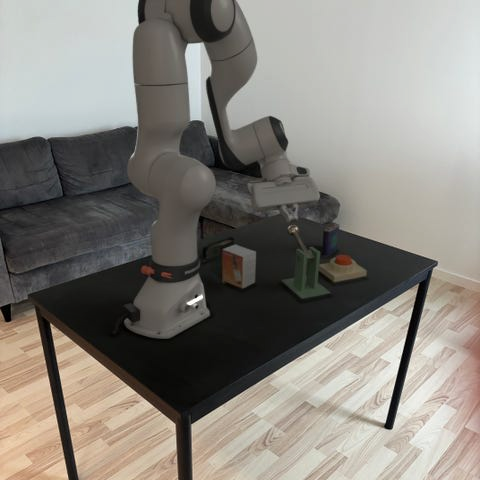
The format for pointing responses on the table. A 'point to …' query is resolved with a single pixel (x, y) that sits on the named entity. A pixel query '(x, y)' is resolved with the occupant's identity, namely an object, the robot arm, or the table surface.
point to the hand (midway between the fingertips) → (292, 221)
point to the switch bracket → (303, 283)
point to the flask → (330, 239)
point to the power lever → (300, 242)
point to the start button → (343, 260)
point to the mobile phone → (216, 247)
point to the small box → (238, 266)
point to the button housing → (342, 270)
